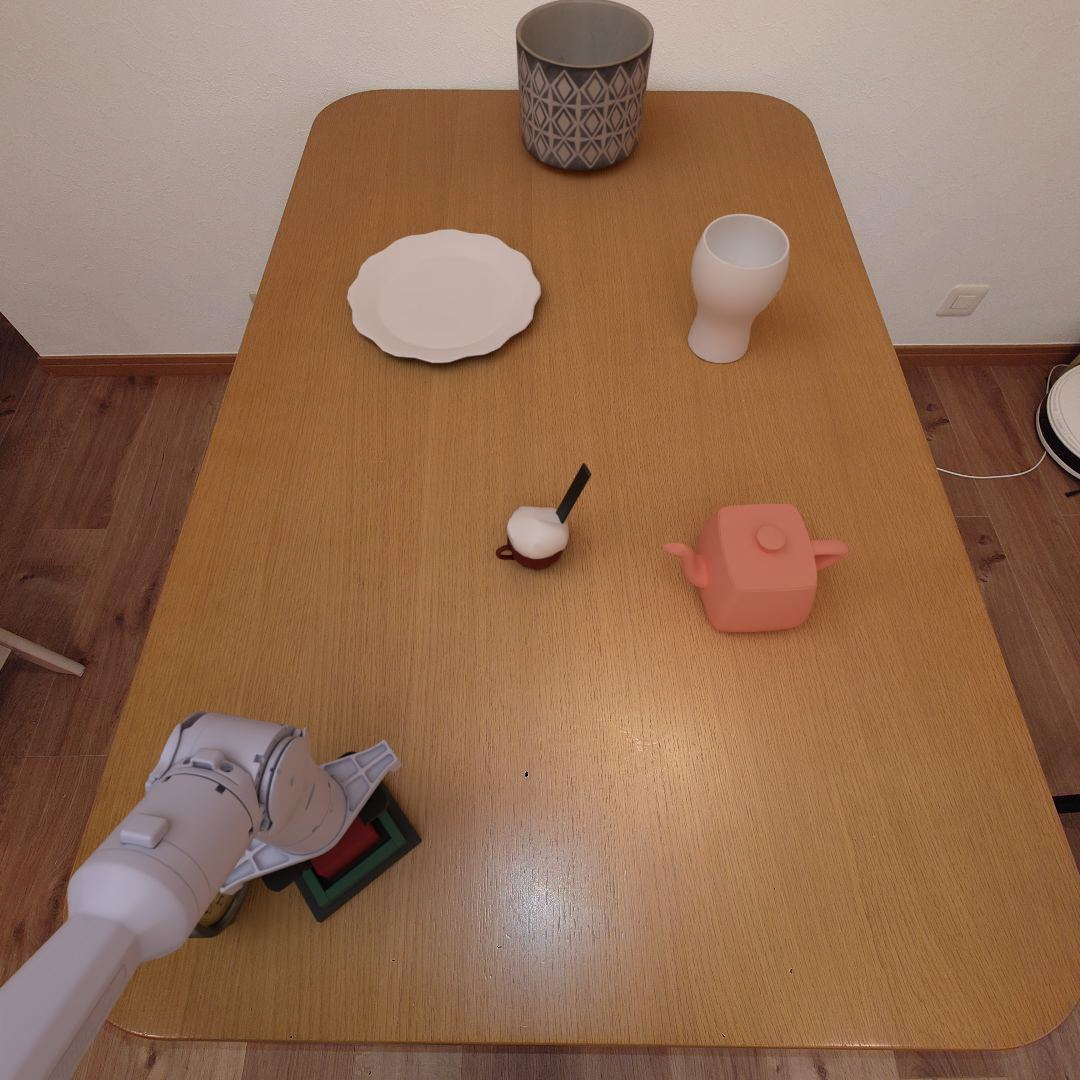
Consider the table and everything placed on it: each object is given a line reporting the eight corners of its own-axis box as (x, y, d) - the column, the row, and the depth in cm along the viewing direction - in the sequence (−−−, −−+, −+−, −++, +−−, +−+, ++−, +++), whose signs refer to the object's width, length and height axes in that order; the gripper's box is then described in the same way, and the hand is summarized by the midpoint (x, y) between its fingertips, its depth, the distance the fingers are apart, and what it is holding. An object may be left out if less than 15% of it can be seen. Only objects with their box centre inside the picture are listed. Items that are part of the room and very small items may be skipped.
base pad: (321, 923, 59) (312, 921, 56) (269, 831, 62) (258, 826, 60) (422, 841, 62) (418, 836, 59) (367, 758, 65) (361, 751, 63)
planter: (652, 124, 117) (667, 8, 103) (622, 193, 107) (635, 76, 93) (540, 104, 120) (540, -11, 106) (502, 170, 111) (496, 53, 96)
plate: (369, 390, 88) (365, 379, 86) (338, 260, 100) (335, 248, 98) (563, 347, 91) (563, 336, 90) (511, 227, 103) (510, 215, 102)
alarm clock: (247, 939, 58) (153, 934, 44) (180, 941, 58) (65, 935, 44) (270, 798, 64) (193, 753, 50) (209, 799, 63) (115, 755, 49)
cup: (663, 355, 91) (683, 254, 78) (693, 303, 95) (717, 200, 82) (743, 383, 88) (778, 284, 75) (770, 328, 93) (807, 226, 80)
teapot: (836, 634, 71) (879, 588, 62) (657, 644, 71) (673, 598, 62) (808, 536, 77) (843, 480, 68) (642, 544, 77) (656, 489, 68)
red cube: (331, 879, 59) (318, 874, 56) (301, 829, 61) (287, 821, 58) (382, 839, 61) (372, 831, 57) (351, 791, 63) (340, 781, 59)
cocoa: (497, 579, 75) (490, 517, 64) (497, 527, 78) (490, 461, 67) (588, 576, 75) (595, 514, 64) (584, 525, 78) (590, 458, 68)
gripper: (350, 690, 52) (386, 739, 64) (161, 823, 47) (237, 849, 59) (403, 767, 49) (430, 804, 61) (208, 917, 44) (278, 925, 56)
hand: (338, 831), depth 60 cm, fingers closed on red cube, 5 cm apart
